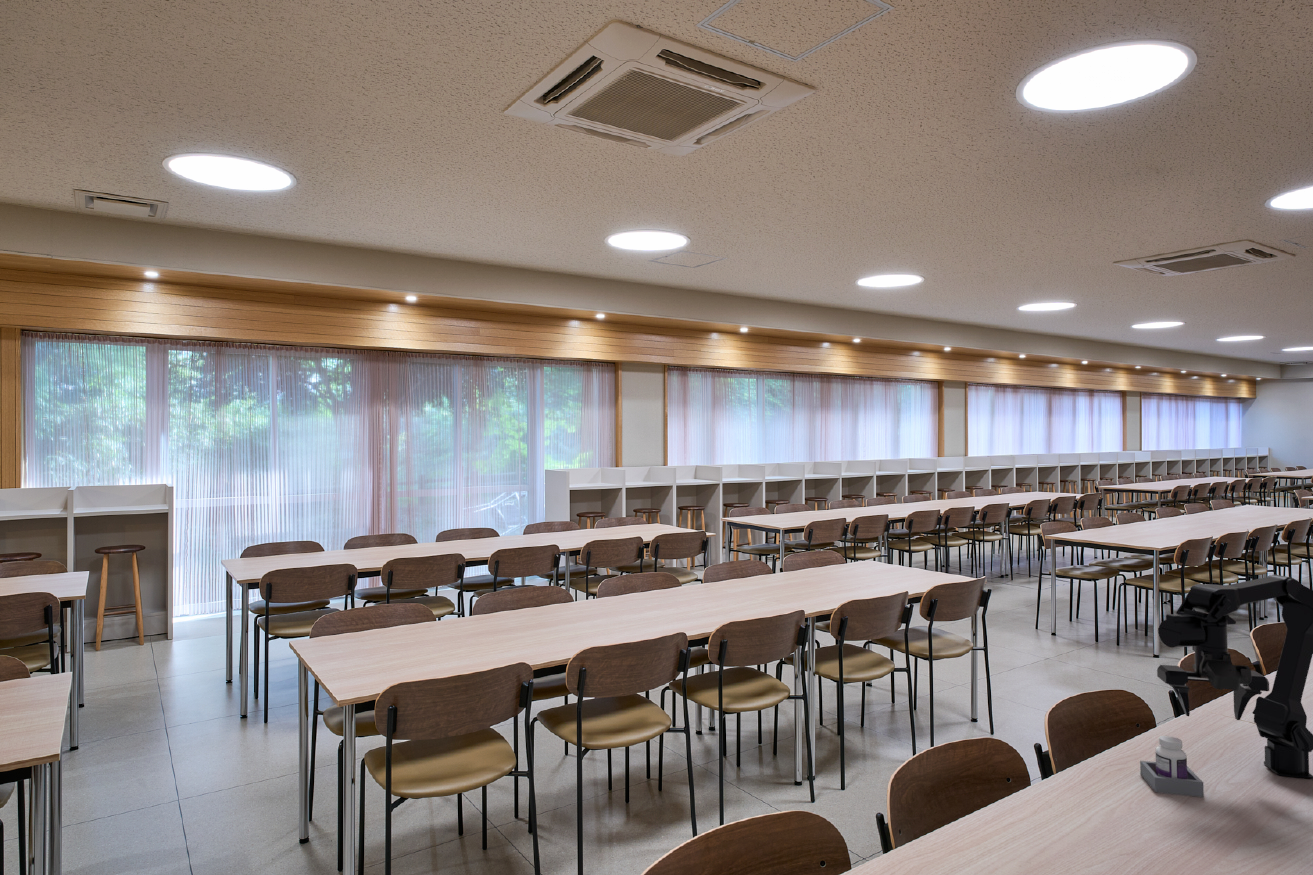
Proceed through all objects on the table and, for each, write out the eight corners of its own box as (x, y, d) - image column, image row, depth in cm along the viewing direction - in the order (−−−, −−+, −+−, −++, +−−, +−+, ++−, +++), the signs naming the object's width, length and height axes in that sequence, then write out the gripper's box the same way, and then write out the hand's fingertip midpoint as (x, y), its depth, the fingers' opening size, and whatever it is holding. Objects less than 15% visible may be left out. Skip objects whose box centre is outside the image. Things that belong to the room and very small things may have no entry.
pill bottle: (1183, 781, 156) (1182, 735, 157) (1190, 793, 151) (1190, 745, 152) (1153, 778, 158) (1152, 732, 159) (1159, 788, 153) (1159, 741, 154)
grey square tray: (1186, 778, 158) (1185, 764, 158) (1203, 797, 150) (1203, 782, 150) (1140, 774, 160) (1140, 760, 160) (1155, 792, 152) (1154, 777, 152)
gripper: (1175, 651, 153) (1177, 727, 153) (1282, 658, 148) (1284, 736, 148) (1155, 638, 164) (1157, 708, 164) (1254, 643, 159) (1256, 716, 159)
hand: (1212, 717), depth 158 cm, fingers open, 9 cm apart
